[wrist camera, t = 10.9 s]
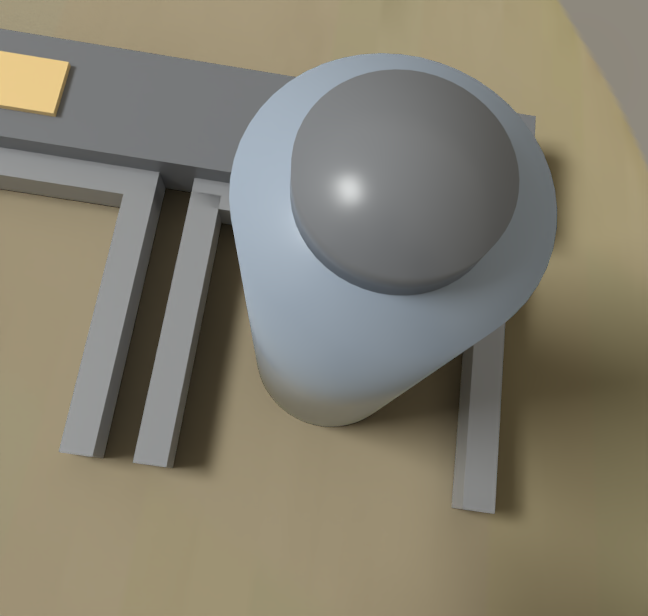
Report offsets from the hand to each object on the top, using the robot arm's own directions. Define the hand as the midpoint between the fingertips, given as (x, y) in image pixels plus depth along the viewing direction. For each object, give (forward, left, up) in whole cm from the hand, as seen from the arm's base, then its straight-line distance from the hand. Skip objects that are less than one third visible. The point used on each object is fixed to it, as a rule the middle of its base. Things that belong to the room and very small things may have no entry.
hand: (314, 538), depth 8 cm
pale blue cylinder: (+4, +2, -12) cm, 13 cm away
